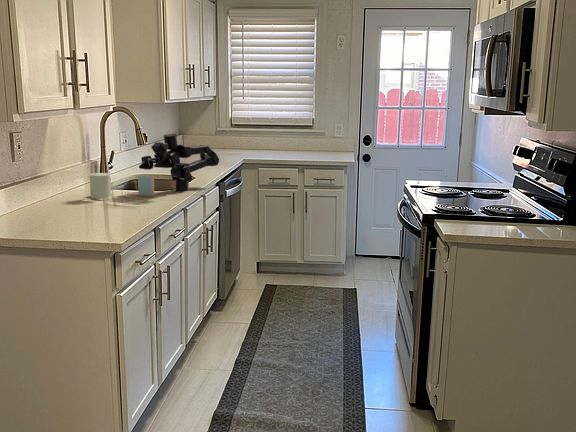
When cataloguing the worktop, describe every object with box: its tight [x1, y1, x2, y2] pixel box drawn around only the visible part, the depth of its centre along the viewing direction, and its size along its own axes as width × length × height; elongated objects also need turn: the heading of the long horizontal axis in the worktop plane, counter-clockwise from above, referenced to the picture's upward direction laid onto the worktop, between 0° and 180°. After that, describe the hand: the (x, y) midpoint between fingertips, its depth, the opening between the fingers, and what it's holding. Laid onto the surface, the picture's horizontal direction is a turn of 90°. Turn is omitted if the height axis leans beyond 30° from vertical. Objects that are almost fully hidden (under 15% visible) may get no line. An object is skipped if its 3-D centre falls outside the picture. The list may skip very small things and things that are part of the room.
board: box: [115, 191, 167, 202], centre depth 270 cm, size 15×18×1 cm
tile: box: [137, 174, 155, 196], centre depth 272 cm, size 2×8×9 cm, turn 65°
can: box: [88, 172, 112, 202], centre depth 266 cm, size 9×9×12 cm
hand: (146, 166), depth 262 cm, fingers open, 9 cm apart
